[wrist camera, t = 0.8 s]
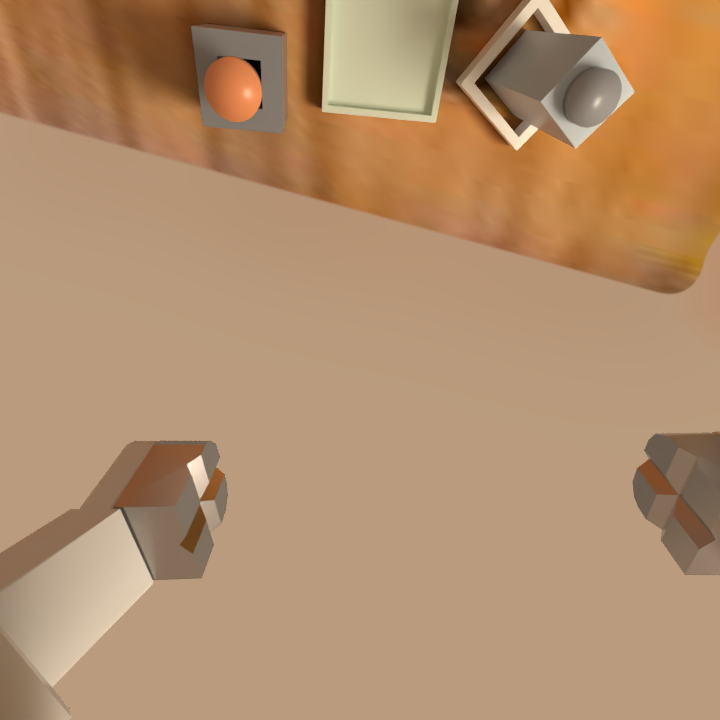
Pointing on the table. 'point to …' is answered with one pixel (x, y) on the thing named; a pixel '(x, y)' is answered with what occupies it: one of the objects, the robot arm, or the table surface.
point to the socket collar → (532, 3)
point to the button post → (254, 46)
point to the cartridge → (560, 83)
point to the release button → (233, 88)
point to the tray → (386, 57)
